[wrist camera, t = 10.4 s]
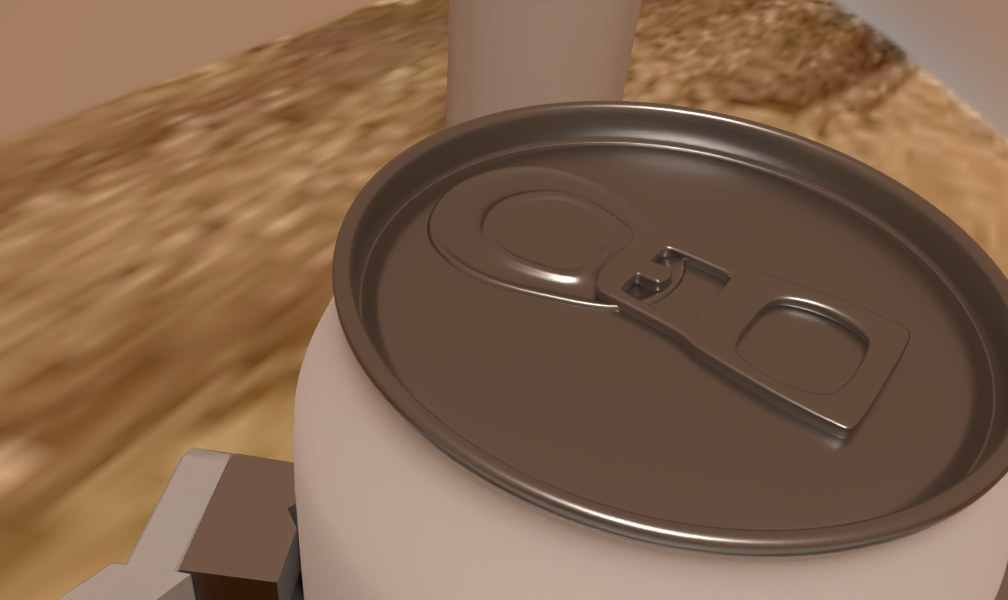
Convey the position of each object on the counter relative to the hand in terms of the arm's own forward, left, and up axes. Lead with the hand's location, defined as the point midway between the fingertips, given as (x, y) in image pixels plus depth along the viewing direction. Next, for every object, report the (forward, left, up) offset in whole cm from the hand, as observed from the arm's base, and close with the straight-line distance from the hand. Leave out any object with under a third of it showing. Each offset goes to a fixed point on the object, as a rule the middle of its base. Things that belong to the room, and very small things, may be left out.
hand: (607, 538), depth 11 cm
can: (0, 0, -8) cm, 8 cm away
